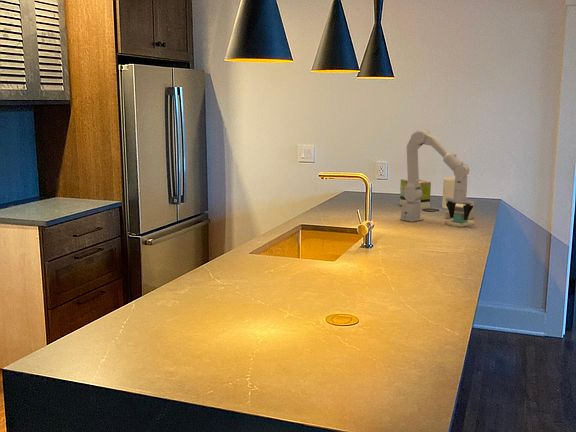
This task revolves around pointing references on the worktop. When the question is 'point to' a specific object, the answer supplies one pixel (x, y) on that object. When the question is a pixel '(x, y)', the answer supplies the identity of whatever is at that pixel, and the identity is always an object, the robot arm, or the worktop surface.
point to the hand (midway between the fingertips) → (458, 218)
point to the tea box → (425, 189)
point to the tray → (459, 223)
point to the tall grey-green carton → (459, 218)
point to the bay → (459, 209)
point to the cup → (448, 190)
